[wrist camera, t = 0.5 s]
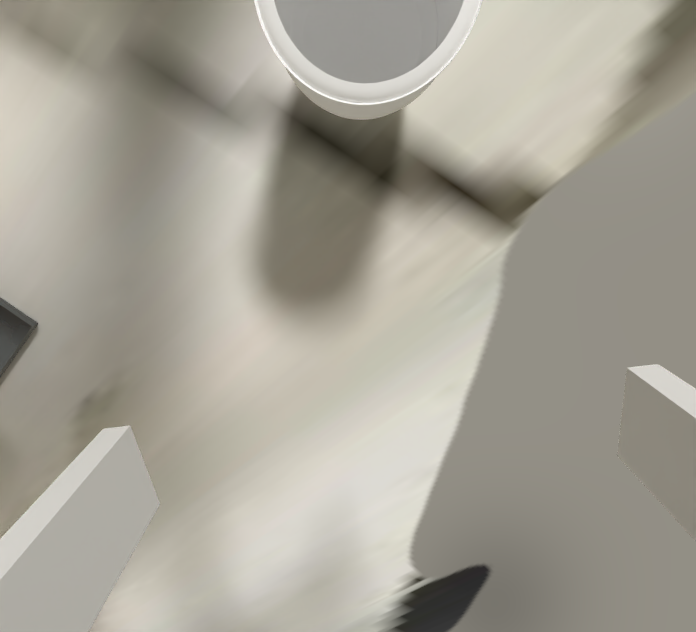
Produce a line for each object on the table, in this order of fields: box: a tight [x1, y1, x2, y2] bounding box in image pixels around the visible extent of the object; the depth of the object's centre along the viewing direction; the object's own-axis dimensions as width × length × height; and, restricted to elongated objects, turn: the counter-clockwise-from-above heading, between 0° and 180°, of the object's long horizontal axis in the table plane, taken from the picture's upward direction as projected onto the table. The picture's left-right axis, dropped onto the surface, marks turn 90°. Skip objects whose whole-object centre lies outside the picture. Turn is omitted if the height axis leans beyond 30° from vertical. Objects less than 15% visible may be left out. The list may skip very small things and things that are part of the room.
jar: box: [254, 0, 483, 120], centre depth 25 cm, size 11×10×15 cm
